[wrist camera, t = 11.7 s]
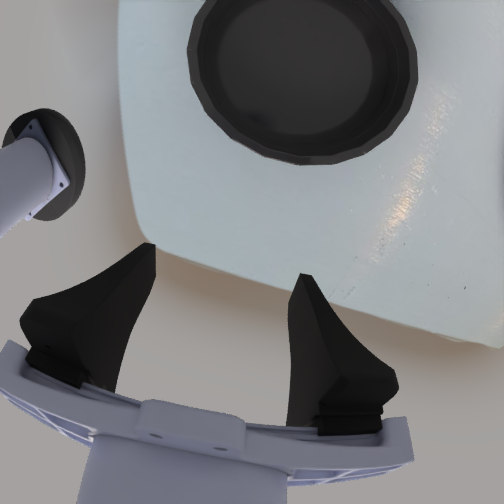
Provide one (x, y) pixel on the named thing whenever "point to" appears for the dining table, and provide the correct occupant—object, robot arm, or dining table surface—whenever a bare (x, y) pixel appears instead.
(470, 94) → the dining table surface
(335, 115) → the pan
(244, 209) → the dining table surface
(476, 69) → the dining table surface
